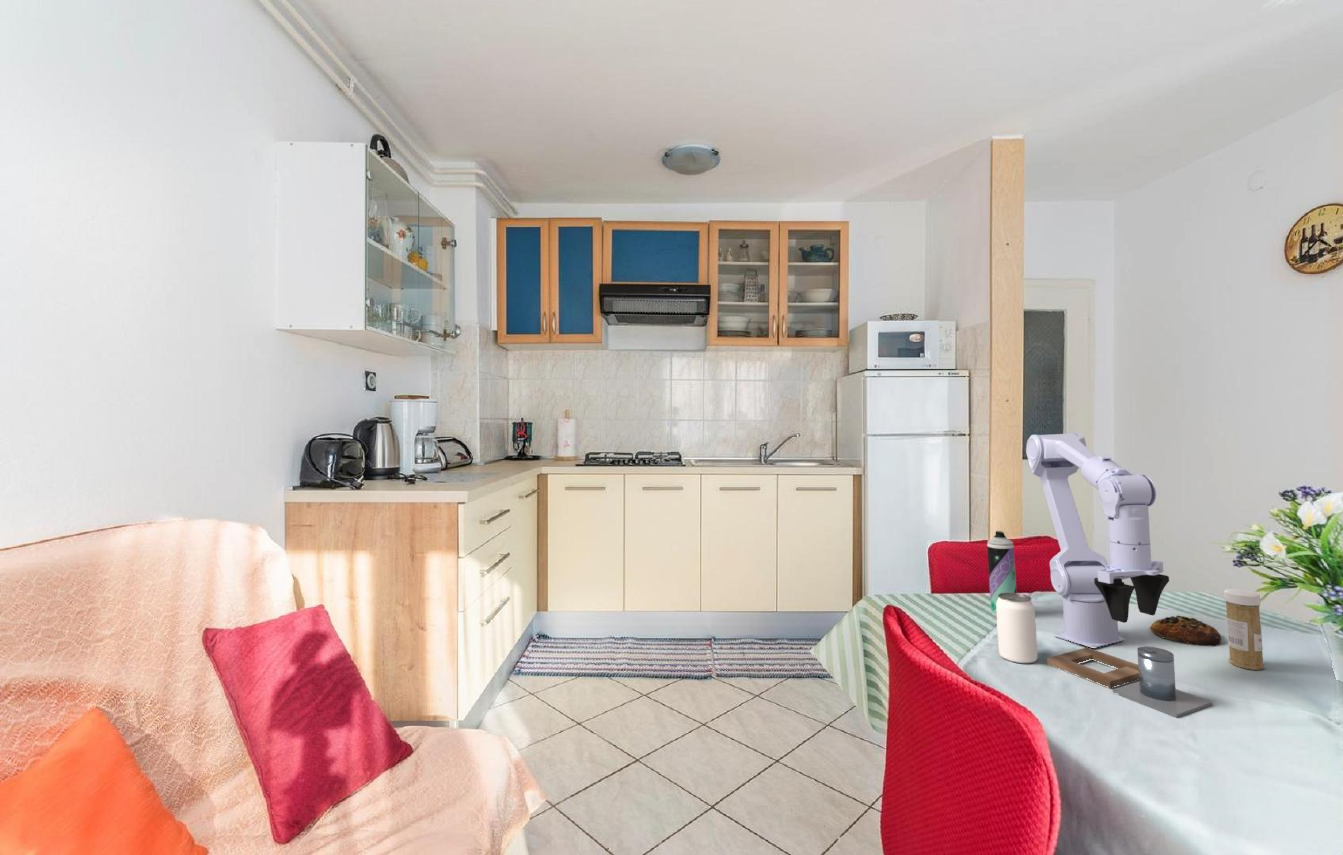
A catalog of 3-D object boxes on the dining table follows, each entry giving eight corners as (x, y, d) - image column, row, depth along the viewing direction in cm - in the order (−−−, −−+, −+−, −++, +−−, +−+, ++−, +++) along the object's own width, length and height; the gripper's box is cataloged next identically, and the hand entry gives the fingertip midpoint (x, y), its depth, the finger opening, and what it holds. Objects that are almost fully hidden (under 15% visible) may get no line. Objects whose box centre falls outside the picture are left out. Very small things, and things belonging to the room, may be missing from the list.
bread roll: (1207, 650, 107) (1201, 623, 107) (1140, 640, 117) (1135, 615, 117) (1235, 641, 111) (1230, 615, 112) (1169, 632, 121) (1164, 608, 122)
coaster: (1147, 681, 96) (1147, 678, 96) (1212, 704, 87) (1212, 701, 87) (1112, 692, 93) (1112, 689, 93) (1176, 717, 84) (1176, 714, 84)
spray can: (987, 611, 134) (982, 529, 135) (1011, 611, 134) (1006, 529, 134) (997, 618, 129) (992, 533, 129) (1022, 618, 128) (1017, 533, 128)
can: (1043, 665, 104) (1040, 601, 104) (1006, 663, 106) (1002, 601, 106) (1029, 651, 111) (1025, 591, 111) (993, 650, 112) (990, 591, 112)
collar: (1087, 653, 108) (1086, 647, 108) (1151, 675, 98) (1151, 669, 98) (1047, 664, 105) (1047, 657, 105) (1110, 688, 94) (1109, 681, 94)
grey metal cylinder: (1151, 685, 93) (1149, 644, 93) (1183, 697, 89) (1180, 654, 89) (1133, 690, 92) (1130, 649, 92) (1164, 703, 88) (1161, 659, 88)
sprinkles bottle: (1271, 671, 97) (1267, 595, 97) (1240, 670, 98) (1236, 595, 98) (1251, 660, 102) (1246, 588, 102) (1221, 659, 103) (1217, 587, 103)
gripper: (1127, 551, 93) (1131, 631, 93) (1181, 540, 97) (1185, 617, 97) (1083, 543, 99) (1088, 618, 99) (1136, 534, 104) (1140, 605, 104)
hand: (1133, 617), depth 99 cm, fingers open, 7 cm apart
